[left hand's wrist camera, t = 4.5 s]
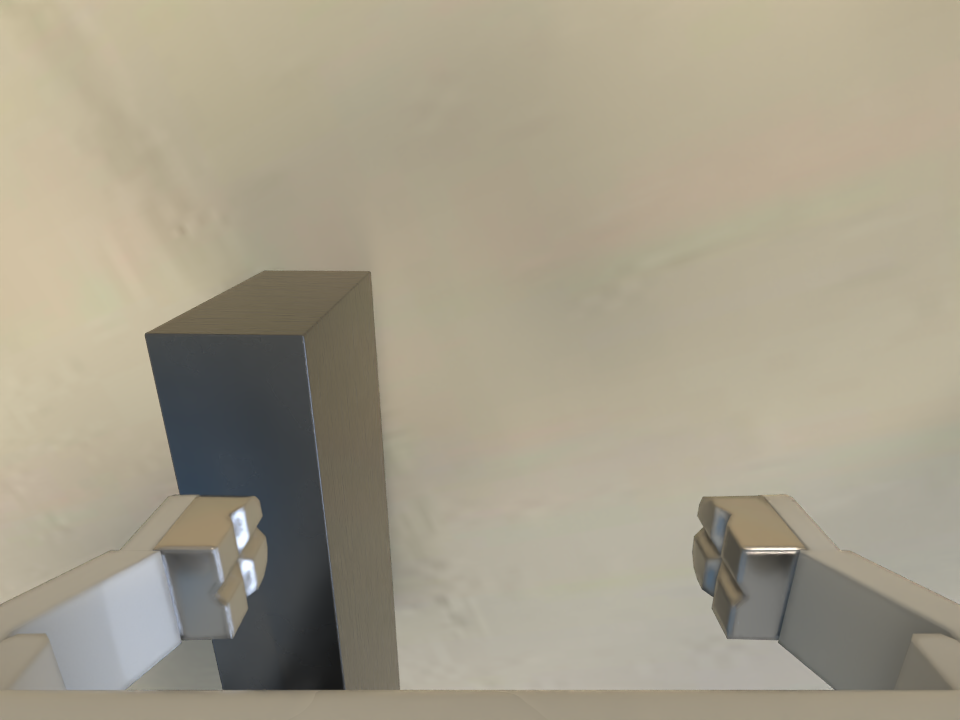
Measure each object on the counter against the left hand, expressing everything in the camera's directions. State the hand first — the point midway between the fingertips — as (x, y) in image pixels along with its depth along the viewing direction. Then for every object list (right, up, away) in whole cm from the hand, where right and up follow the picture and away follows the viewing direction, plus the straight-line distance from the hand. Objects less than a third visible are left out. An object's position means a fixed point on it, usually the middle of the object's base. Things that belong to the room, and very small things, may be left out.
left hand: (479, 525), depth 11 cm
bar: (-8, -5, +21) cm, 23 cm away
